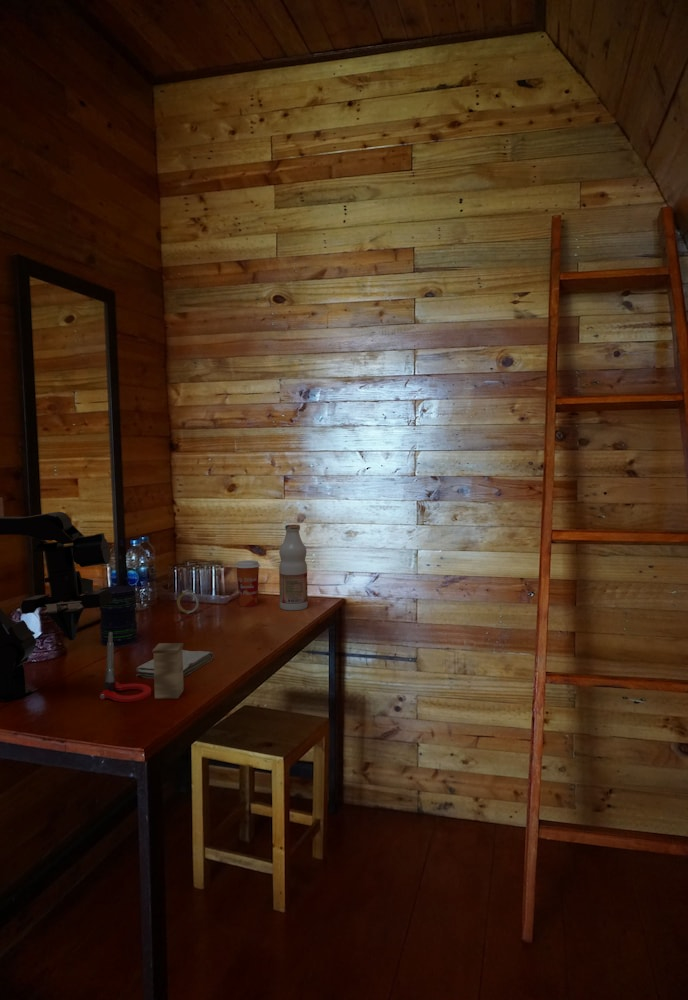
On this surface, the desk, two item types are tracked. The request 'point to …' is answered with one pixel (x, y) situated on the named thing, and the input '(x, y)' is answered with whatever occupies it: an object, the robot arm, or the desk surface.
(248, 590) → the coffee cup
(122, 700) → the tow hook
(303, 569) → the fruit juice
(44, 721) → the desk surface
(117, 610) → the storage jar
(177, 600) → the ring
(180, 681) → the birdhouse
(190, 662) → the washcloth
